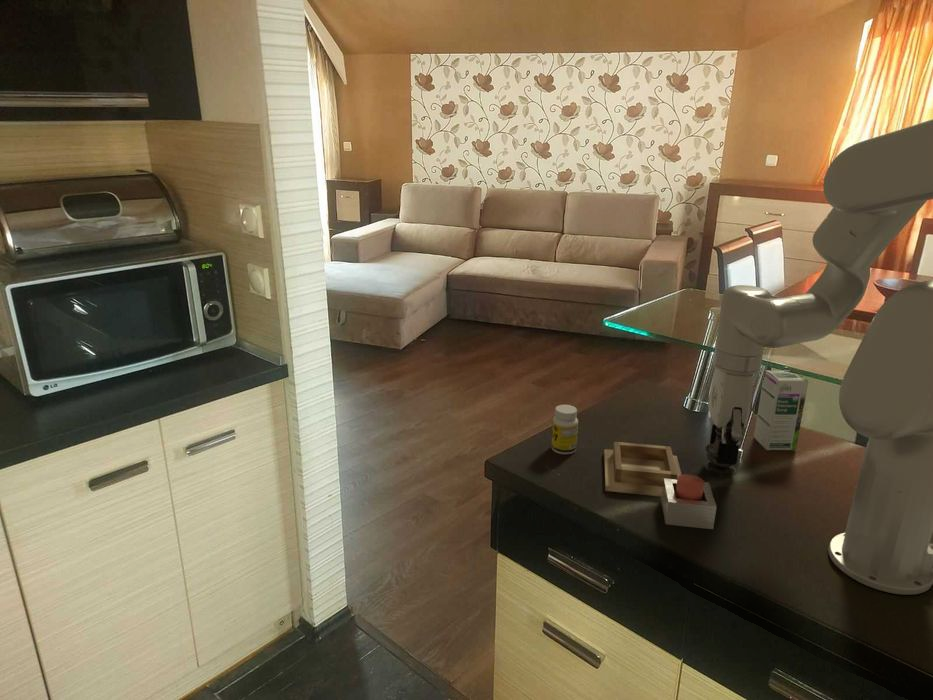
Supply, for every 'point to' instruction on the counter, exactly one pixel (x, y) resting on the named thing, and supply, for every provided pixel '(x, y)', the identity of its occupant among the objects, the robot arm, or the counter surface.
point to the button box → (688, 507)
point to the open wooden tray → (639, 468)
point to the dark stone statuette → (712, 456)
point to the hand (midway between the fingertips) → (722, 453)
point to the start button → (689, 487)
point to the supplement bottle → (564, 430)
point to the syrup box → (780, 410)
